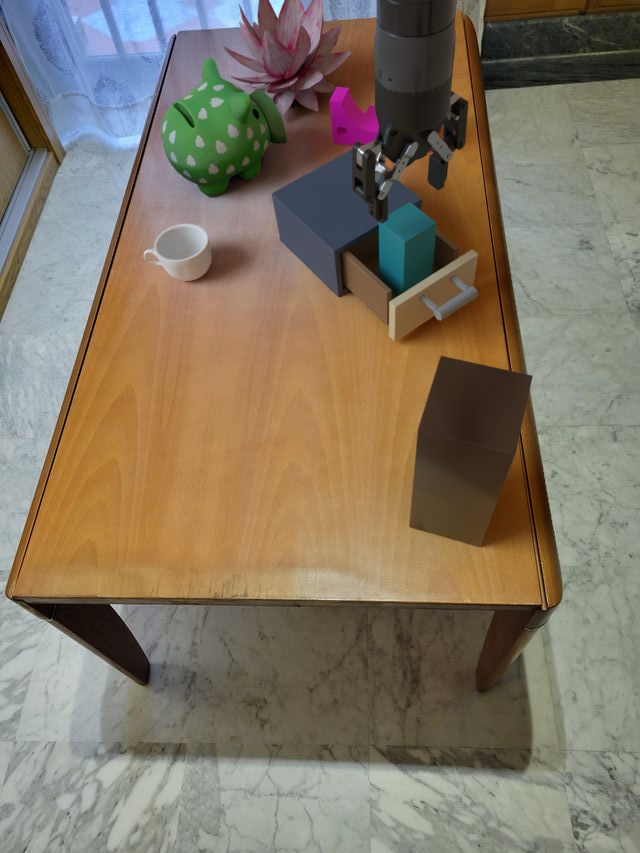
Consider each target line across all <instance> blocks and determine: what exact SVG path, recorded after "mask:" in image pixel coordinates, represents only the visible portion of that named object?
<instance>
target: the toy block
mask: <svg viewBox="0 0 640 853" xmlns="http://www.w3.org/2000/svg"><path fill="white" fill-rule="evenodd" d="M329 109H330V112H329V113H330V122H331V124H330V125H331V135H332V144H339V145H346V146H353V145H354V144H355V143H356V142H358V141H359V142H361V143H362V144H364V145H366V144H368V143H370V142H372V141H374V140H375V139H376V135H377V133H378V129H379V124H378V120H377V116H376V113H375V105H372V104H371V103H369V104H368V107H367V109H366V111H363V109H361V108H360V107H359V106H358V104H356V102H355V101H354V99H353V96H352V94H351V92H350V87H343V86H336V89H335V91H334V92H332V95H331V97H330V99H329Z"/></svg>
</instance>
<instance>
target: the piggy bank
mask: <svg viewBox="0 0 640 853" xmlns="http://www.w3.org/2000/svg"><path fill="white" fill-rule="evenodd" d="M201 78H202V79H201V80H202V82H200V83H199V84H198V85H197V86H196V87H195V88H194V89H193V90H192V91H191V92H189V93H188V94H187V95H186V96H184V97H182V98H180V99H178V100H176V101H174V102H173V103H172V104H171V105H170V106H169V108H168V109H167V111H166V112H165V114H164V117H163V119H162V122H161V134H160V135H161V142H162V147H163V150H164V153H165V156H166V159H167V160H168V162H169V164H170V165H171V167H172V168H173V170H175V172H176V173H177V174H179V175H180V176H181V177H183V178H184V179H185V180H187V181H189V182H190V183H193V184H196V185H197V187H198V189H199V191H200V192H201V193H203V195H205V196H207V197H209V198H211V197H215V196H218V195H220V194H223V193H224V192H225V191H226V190H227V188H228V186H229V181H230V179H231V178H232V177H234V176H236V175H237V174H238V175H239V176H240V177H241V178H242V179H243V180H245V181H246V182H250V181H252V180H254V179H256V178H257V177H258V176H259V174H260V171H261V168H262V158H263V155H264V154H265V153H266V151H267V149H268V148H269V146H270V145H271V144H272V145H273V144H275V145H281V144H286V143H287V141H288V135H287V130H286V127H285V126H286V125H285V122H284V120H283V116H281V114H280V112H279V110H278V108H277V106H276V102H273V99H272V97H271V98H270V97H269V96H268V95H267V94H266V93H265V92H264V91H265V90H262V89H261V88H260V89H259V88H256V89H255V90H254V91H253V92H250V93H249V94H248V93H247V92H246V91H245V90H244V89H243V88H242V87H240V86H238V85H237V84H234V82H230V81H229V80H226V79H224V78H222V77H221V75H220V71H219V69H218V65H217V63H216V60H215V59H214V58H213V57H209V58H207V59H205V60H204V62H203V64H202V68H201Z"/></svg>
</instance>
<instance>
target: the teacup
mask: <svg viewBox="0 0 640 853" xmlns="http://www.w3.org/2000/svg"><path fill="white" fill-rule="evenodd" d="M148 254H151V255H153V256H155V257H156V258H157V260H156V259H151V258H149V257H148ZM212 256H213V252H212V246H211V242H210V238H209V234H208V232H207V231H206V230H205V228H203V227H202V226H200V225H199V224H194V223H180V224H179V223H178V224H175V225H172V226H169V227H167V228H165V229H164V230H163V231H161V232H160V233H159V235H158V236H157V237H156V239H155V240H154V243H153V248H148V249H146V250H144V252H143V258H144V260H145V261H146V262H147V263H149V264H153V265H156V266H160V267H162V268H163V269H164V271H165V272H166V273H167V274H168V275H169V276H170V277H172V278H173V279H176V280H179V281H182V282H192V281H195V280H198V279H200V278H201V277H203V276H204V275H205V274H206V273H207V272H208V270H209V269H210V267H211V265H212V260H213V258H212Z"/></svg>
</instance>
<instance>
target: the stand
mask: <svg viewBox="0 0 640 853" xmlns="http://www.w3.org/2000/svg"><path fill="white" fill-rule="evenodd" d="M532 380H533V375H531V374H527V373H523V372H517V371H513V370H508V369H504V368H499V367H495V366H491V365H486V364H482V363H476V362H472V361H469V360H468V361H467V360H463V359H458V358H454V357H449V356H446V355H445V356H444V355H440V356H439V359H438V363H437V366H436V369H435V372H434V376H433V379H432V382H431V385H430V389H429V391H428V395H427V399H426V401H425V405H424V408H423V412H422V414H421V418H420V421H419V425H418V428H417V431H416V433H417V434H416V443H415V445H416V446H415V456H414V467H413V478H412V479H413V480H412V490H411V500H410V502H411V503H410V513H409V523H408V524H409V525H408V526H409V528H411V529H415V530H418V531H421V532H426V533H428V534H432V535H436V536H439V537H442V538H445V539H450V540H452V541H456V542H461V543H464V544H467V545H471V546H474V547H477V548H481V546H482V543H483V541H484V538H485V535H486V533H487V530H488V528H489V525H490V522H491V520H492V517H493V515H494V512H495V509H496V507H497V505H498V502H499V499H500V496H501V494H502V491H503V489H504V486H505V483H506V480H507V478H508V475H509V473H510V470H511V467H512V464H513V462H514V459H515V456H516V455H517V454H516V453H517V449H518V444H519V440H520V436H521V431H522V427H523V423H524V417H525V414H526V408H527V404H528V401H529V400H528V399H529V395H530V391H531V387H532V386H531V385H532Z"/></svg>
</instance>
